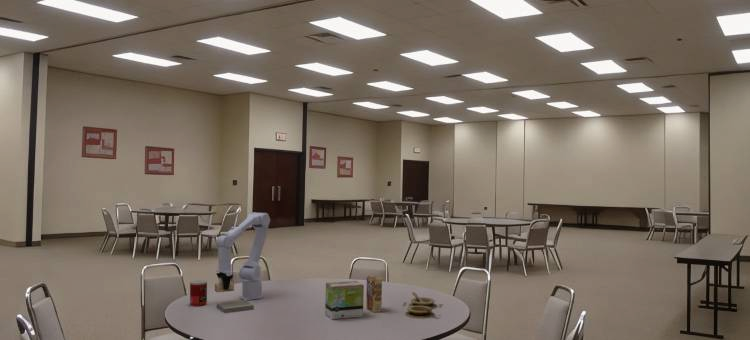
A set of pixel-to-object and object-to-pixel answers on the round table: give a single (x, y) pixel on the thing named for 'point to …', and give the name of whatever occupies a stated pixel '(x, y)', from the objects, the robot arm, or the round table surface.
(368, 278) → the candy box
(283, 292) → the round table surface
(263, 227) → the robot arm
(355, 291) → the tea box
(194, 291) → the canned food
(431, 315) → the tableware set
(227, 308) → the dock
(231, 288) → the pallet
